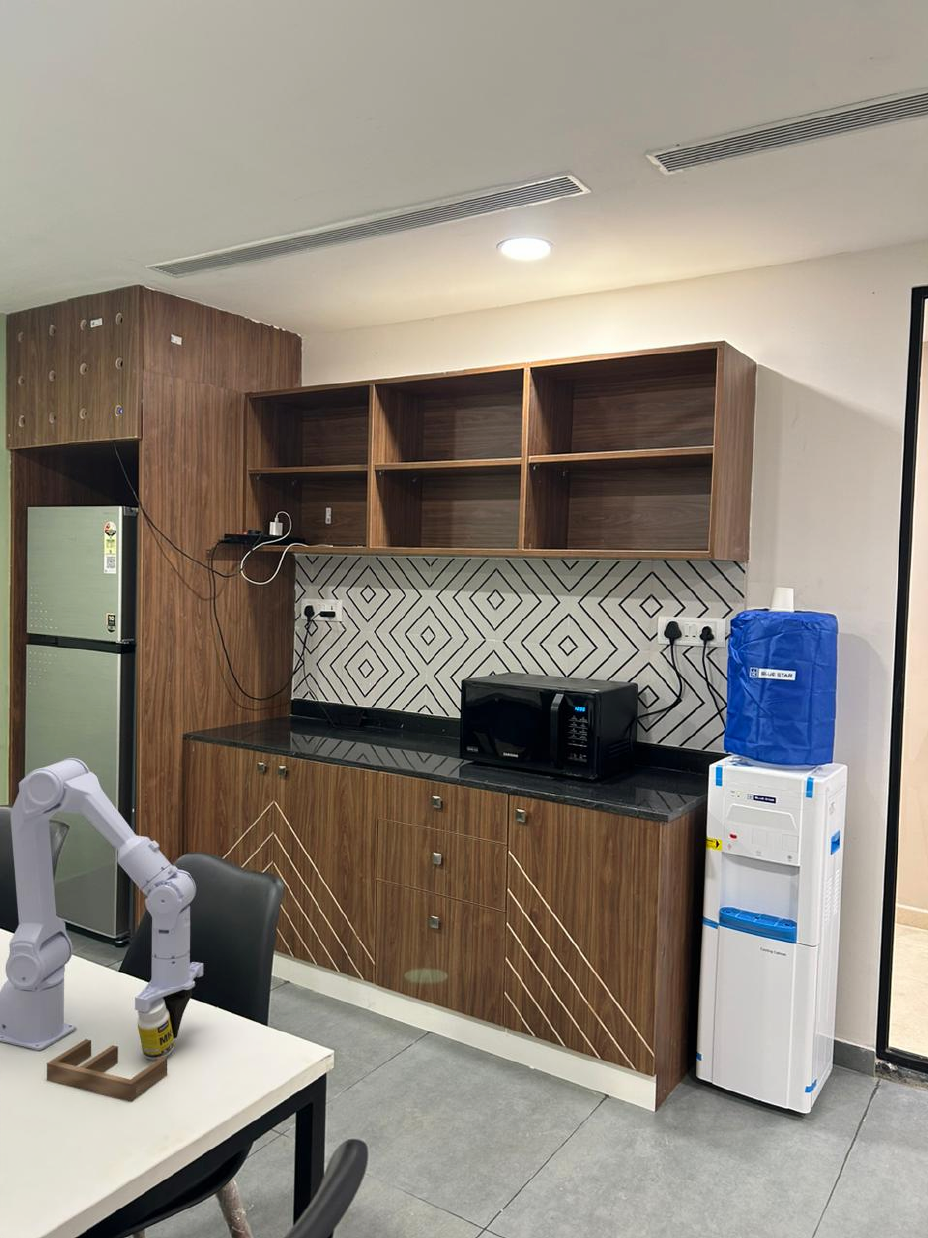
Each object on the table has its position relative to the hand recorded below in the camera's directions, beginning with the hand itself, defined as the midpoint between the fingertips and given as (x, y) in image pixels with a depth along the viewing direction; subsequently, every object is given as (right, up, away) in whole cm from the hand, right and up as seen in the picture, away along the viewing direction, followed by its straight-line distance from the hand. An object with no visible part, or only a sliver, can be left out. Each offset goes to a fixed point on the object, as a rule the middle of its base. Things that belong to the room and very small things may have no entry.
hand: (170, 1037), depth 150 cm
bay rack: (-6, -2, -10) cm, 12 cm away
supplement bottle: (-1, -1, -2) cm, 3 cm away
